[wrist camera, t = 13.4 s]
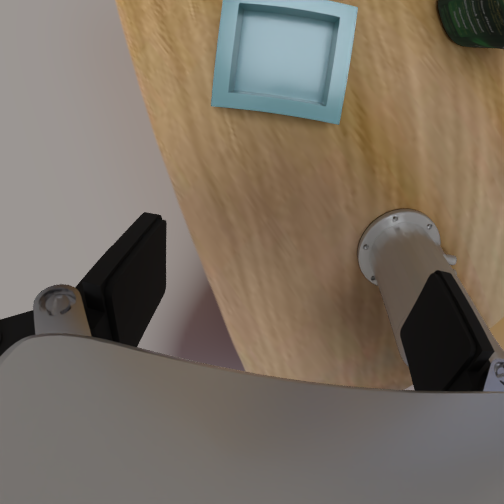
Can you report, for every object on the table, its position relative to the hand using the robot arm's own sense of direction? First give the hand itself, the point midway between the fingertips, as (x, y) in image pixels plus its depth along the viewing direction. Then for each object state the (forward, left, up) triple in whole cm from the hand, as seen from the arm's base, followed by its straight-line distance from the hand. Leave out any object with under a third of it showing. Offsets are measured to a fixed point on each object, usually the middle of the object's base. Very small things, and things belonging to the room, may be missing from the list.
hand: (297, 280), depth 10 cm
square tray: (+2, -9, -29) cm, 30 cm away
